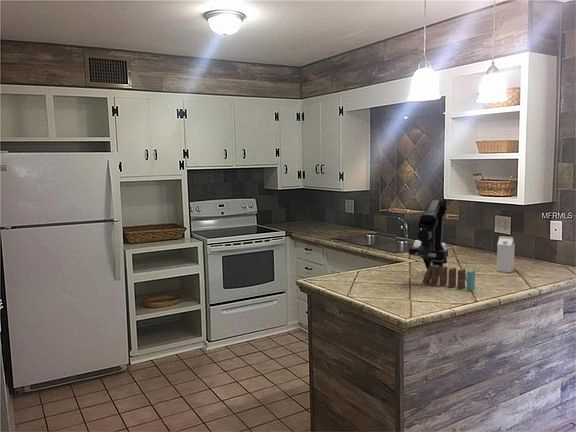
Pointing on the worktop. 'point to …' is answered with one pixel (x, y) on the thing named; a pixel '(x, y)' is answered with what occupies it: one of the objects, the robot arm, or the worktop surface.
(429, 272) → the walnut domino
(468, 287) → the teal domino
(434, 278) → the walnut domino
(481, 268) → the worktop surface
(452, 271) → the walnut domino
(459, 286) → the walnut domino
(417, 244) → the pencil case
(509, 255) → the milk carton
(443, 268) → the walnut domino
